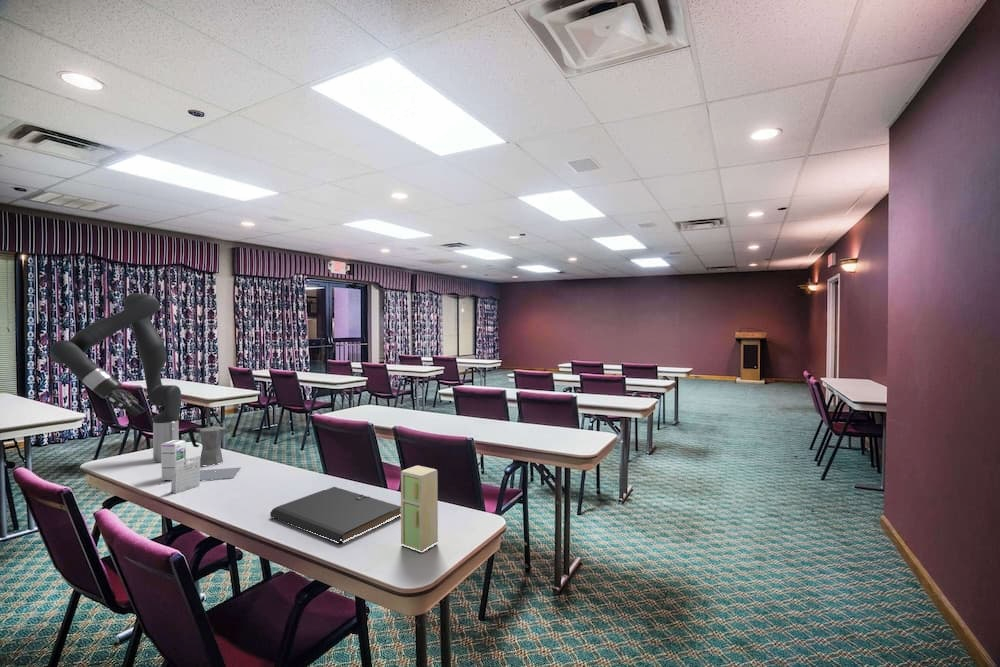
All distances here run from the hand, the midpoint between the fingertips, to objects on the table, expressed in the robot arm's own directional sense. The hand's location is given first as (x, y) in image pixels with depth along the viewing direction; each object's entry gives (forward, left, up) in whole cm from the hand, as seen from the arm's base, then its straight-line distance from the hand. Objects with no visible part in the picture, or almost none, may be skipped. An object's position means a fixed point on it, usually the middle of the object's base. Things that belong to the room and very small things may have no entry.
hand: (140, 413), depth 178 cm
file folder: (+45, +81, -27) cm, 97 cm away
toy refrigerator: (+68, +107, -26) cm, 129 cm away
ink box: (+12, +22, -26) cm, 36 cm away
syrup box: (-2, +11, -26) cm, 29 cm away
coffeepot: (-22, +15, -26) cm, 37 cm away
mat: (-4, +24, -26) cm, 36 cm away
